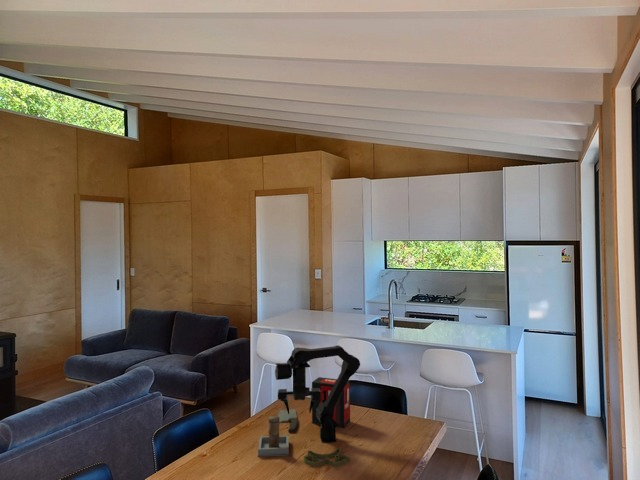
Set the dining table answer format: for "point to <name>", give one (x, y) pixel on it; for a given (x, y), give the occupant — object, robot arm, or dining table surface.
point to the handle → (273, 432)
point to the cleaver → (289, 419)
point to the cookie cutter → (316, 462)
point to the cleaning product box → (341, 406)
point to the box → (266, 451)
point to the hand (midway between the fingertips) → (299, 413)
